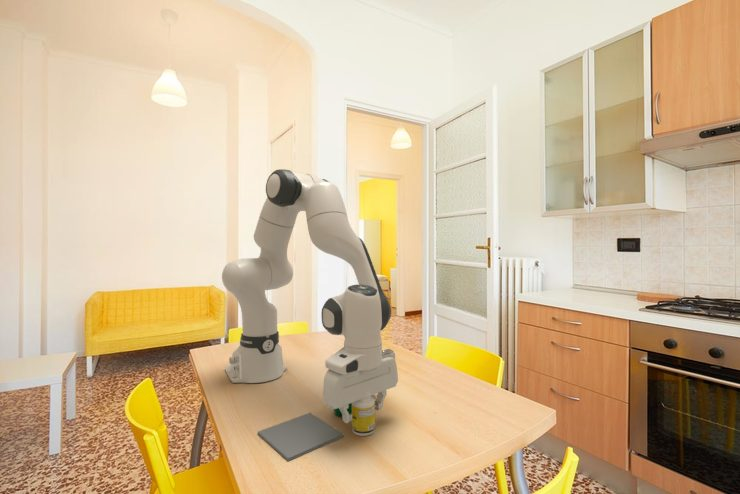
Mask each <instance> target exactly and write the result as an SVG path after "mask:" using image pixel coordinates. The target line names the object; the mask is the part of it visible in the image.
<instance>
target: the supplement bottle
mask: <svg viewBox="0 0 740 494" xmlns="http://www.w3.org/2000/svg"><path fill="white" fill-rule="evenodd" d="M375 400H376V399H375ZM375 400H374V398H373V397H372V396H371V390H370V391H367V392H366V393H365V398H363V399H361V400H358V401H355V402H353V403H352V421H351V428H352V429H351V431H352V432H353V434H354V435H357V436H361V437H366V436H370V435H373V434H374V433H375V431H376V417H375V416H376V409H375Z"/></svg>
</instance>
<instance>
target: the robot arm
mask: <svg viewBox="0 0 740 494" xmlns="http://www.w3.org/2000/svg"><path fill="white" fill-rule="evenodd" d="M265 193H266V199H265V201H264V203H263V206H262V208H261V211H260V213H259V217H258V220H257V222H256V226H255V230H254V233H253V241H254V243H255V244H256V246H257V247H259V248H260V254H259V256H258V257H254V258H253V257H251V258H240V259H237V260H233V261H230V262H228V263H227V264H226V265H225V266H224V267H223V270H222V273H221V280H222V284H223V286H224V288H225V289H226V290H227V291H228V292H230V293H231V294H232V295H233V296H234V297H235V298H236V300H237V302H238V305H239V308H240V312H241V321H242V323H241V325H242V327H241V328H242V333H241V334H240V338H239V340H240V341H239V346H238V347H237V348H236V349H235V350H234V351H233V352H232V354H231V355H232V356H230V357H229V359H228V360H229V361H228V363H229V365H226V366H225V367H224V371H225V373H226V374H227V376H228V379H230V382H231V383H233V384H234V383H235V384H237V383H238V384H239V383H245V384H246V383H247V384H257V383H259V384H260V383H266V382H271V381H274V380H276V379H278V378H280V377H282V376H283V373H284V372H285V371H287V369H288V368H287V365H284V358H283V357H284V356H283V347H282V345H281V344H279V342H280V333H279V331H278V309H277V307H276V306H275V305H274V304H272V303H271V302H269V301H268V298H267V296H266V291H270V290H278V289H280V288H283V287H285V286H286V285H288V284H290V283H291V282H292V280H293V276H294V269H293V266H292V264H291V262H290V260H289V258H288V248H289V243H290V239H291V236H292V234H293V231H294V227H295V224H296V221H297V217H298V215H299V213H300V212H305V217H306V224H307V230H308V235H309V237H310V241H311V242H312V244H313V245H314V246H315V247H316V248H317V249H318V250H319V251H322V252H323V253H325V254H328V255H331V256H334V257H337V258H339V259H341V260H344V261H345V262H346V263H348V264H349V265H350V266H351V268H352V269H353V271H354V274H355V277H356V280H357V283H358V284H353V285H352V284H351V285H349V286H347V288H346V289H345V291H344V292H343V293H341V294H338V295H336V296H333V297H329V298H328V299H327V300H326V301H325V302H324V304H323V306H322V309H321V324H322V327H323V328H324V330H326V332H328V333H329V334H330V335H334V336H343V337H344V342H343V347H342V348H340V349H339V350H338V351H336V352H335V353H334V354H333V353H332V355H331V356H329V357H328V358H326V359H325V362H324V363H325V368H326V369H328V370H327V371H326V373H325V374H324V377H323V378H324V379H323V387H322V388H323V390H322V394H323V395H322V399H323V402H324V403H325V405H326V406H328V407H329V408H331V409H333V410H334V409H337V408H339V410H340V411H341V413H342V417H341V418H342V419H341V420H342V422H343V423H345V425H346V424H349V423H352V414H351V413H349V412H348V411H347V409H348V408H349V404H350V403H353V402H355V401H358V400H361V399H363V398H365V393H366V392H367V391H370V390H371V395H376V399H375V411H379V410H382V409H383V407H384V400H385V399H386V396H387V391H388V390H390V389H392V388H395V387H397V384H398V382H399V374H398V365H397V362H396V354H395V351H394V350H392V349H391V348H386V349H384V350H383V340H382V338H381V331H383V330H384V329H385V328H386V326H387V325H388V324H389V322H390V319H391V317H392V307H391V303H390V300H388V297H387V296H386V295H385V292H384V291H383V289H382V286H381V283H380V279H379V278H378V275H377V273H376V270H375V267H374V264H373V261H372V259H371V255H370V254H369V253H370V252H369V251H368V248H367V246H366V243H365V242H364V241H363V240H362V238H360V237H359V236H358V235H357V234H356V233H355V231H354V230H353V228H352V226H351V224H350V222H349V219H348V214H347V210H346V207H345V203H344V199H343V197H342V194H341V191H340V190H339V188H338V187H337V185H335V183H332V182H330V181H329V180H327V179H324V178H320V177H318V176H316V175H312V174H309V173H303V172H297V171H292V170H289V169H286V168H285V169H281V168H280V169H275V170H274V171H273V172H272V173H270V175H269V176H268V178H267V180H266V183H265Z"/></svg>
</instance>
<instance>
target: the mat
mask: <svg viewBox="0 0 740 494" xmlns="http://www.w3.org/2000/svg"><path fill="white" fill-rule="evenodd" d="M257 435H258V436H259V437H260V438H261V439H262V440H263V441H264V442H265V443H267V445H269V446H270V448H272V449H274V450H275V451H276V452H277V453H278V454H279V455H280V456H282V458H283V459H285V461H287V462H290V461H292V460H294V459H297V458H299V457H301V456H303V455H305V454H308V453H310V452H312V451H314V450H316V449H318V448H322V447H324V446H326V445H328V444H330V443H332V442H335V441H337V440H339V439H341V438H343V437H344V436H345V434H344V433H343V432H341V430H339V429H337V428H335V427H334V426H332V425H330V424H329V423H327V422H326V421H324V420H322V419H321V418H320V417H317V415H315V414H313V413H312V412H308V413H305V414H302V415H300V416H297V417H294V418H291V419H289V420H286V421H283V422H280V423H278V424H275V425H272V426H270V427H267V428H264V429H261V430H258V431H257Z"/></svg>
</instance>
